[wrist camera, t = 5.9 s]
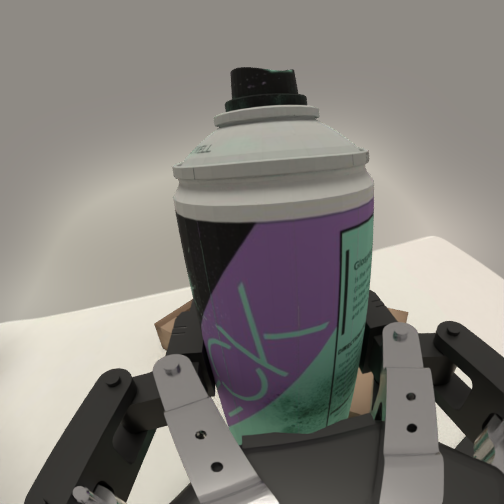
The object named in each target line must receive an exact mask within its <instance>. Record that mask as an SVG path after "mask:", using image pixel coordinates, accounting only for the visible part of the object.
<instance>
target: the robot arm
mask: <svg viewBox="0 0 504 504" xmlns="http://www.w3.org/2000/svg"><path fill="white" fill-rule="evenodd" d="M171 334H172V335H171V337H170V340H169V344H168V348H167V352H166V356H165V357H163V358H161V359H160V360H158V361H157V362H156V363H155V365H154V367H153V371H152V372H150V373H147V374H143V375H139V376H135V377H132V376H131V374H130V373H129V372H128V371H127V370H125V369H120V368H117V369H112V370H109V371H107V372H105V373H104V374H102V375H101V376H100V377H99V379H98V380H97V382H96V383H95V385H94V386H93V388H92V389H91V391H90V392H89V394H88V395H87V397H86V398H85V400H84V401H83V403H82V404H81V406H80V407H79V409H78V410H77V412H76V414H75V415H74V417H73V418H72V420H71V421H70V423H69V425H68V426H67V428H66V429H65V431H64V433H63V434H62V436H61V437H60V439H59V441H58V442H57V444H56V446H55V447H54V449H53V451H52V452H51V454H50V456H49V457H48V459H47V461H46V462H45V464H44V466H43V467H42V469H41V471H40V473H39V474H38V476H37V478H36V480H35V482H34V483H33V485H32V487H31V489H30V491H29V492H28V494H27V496H26V498H25V502H24V504H127V503H126V502H127V499H128V497H129V494H130V492H131V489H132V487H133V484H134V482H135V480H136V477H137V475H138V472H139V470H140V467H141V465H142V463H143V460H144V458H145V455H146V453H147V451H148V448H149V446H150V443H151V441H152V439H153V436H154V434H155V432H156V429H157V428H160V427H164V426H167V425H168V427H169V430H170V433H171V435H172V438H173V441H174V443H175V446H176V448H177V451H178V453H179V456H180V458H181V461H182V463H183V466H184V468H185V470H186V473H187V475H188V477H189V479H190V483H189V484H188V486H187V487H186V488H185V489H184V490H183V491H182V492H181V493H180V494H179V495H178V496H177V497H176V498H175V499H174V500H172V501H171V502H170V503H169V504H504V357H502V356H501V355H500V354H499V353H498V352H496V351H495V350H494V349H493V348H491V347H490V346H489V345H488V344H486V343H485V342H484V341H482V340H481V339H480V338H479V337H477V336H476V335H475V334H474V333H472V332H471V331H470V330H468V329H467V328H466V327H464V326H463V325H462V324H460V323H457V322H454V321H445V322H442V323H440V324H439V325H438V327H437V330H436V333H418V332H417V330H416V329H415V328H414V327H413V326H411V325H409V324H407V323H403V322H398V321H397V320H396V318H395V317H394V316H393V315H392V313H391V312H390V311H389V310H388V308H387V307H386V306H385V305H384V303H383V302H382V301H380V298H379V297H378V296H377V295H376V293H375V292H373V291H371V290H369V297H368V306H367V315H366V323H365V330H364V337H363V344H362V350H361V356H360V362H359V368H360V370H361V372H362V374H365V373H369V372H372V374H373V379H372V387H371V401H370V413H366V414H363V415H359V416H355V417H351V418H347V419H343V420H340V421H338V422H336V423H334V424H331V425H329V426H327V427H325V428H322V429H320V430H318V431H315V432H313V433H309V434H301V433H281V432H272V433H263V434H254V435H243V436H242V444H241V445H238V443H237V442H236V440H235V438H234V437H233V435H232V433H231V432H230V430H229V428H228V426H227V425H226V423H225V421H224V419H223V418H222V416H221V414H220V412H219V410H218V409H217V407H216V405H215V403H214V401H213V400H212V398H211V396H215V381H214V377H213V373H212V370H211V366H210V363H209V359H208V355H207V352H206V348H205V344H204V340H203V336H202V332H201V328H200V324H199V320H198V316H197V312H196V308H195V304H194V299H193V300H192V303H191V307H190V311H185V312H181V313H180V314H179V316H178V317H177V318H176V319H175V322H174V326H173V329H172V333H171ZM456 367H458V368H459V369H461V370H462V371H463V372H464V373H465V374H466V375H467V376H468V377H469V378H470V379H471V381H472V389H471V388H470V387H468V386H467V385H466V384H465V383H464V382H463V381H462V380H461V379H460V378H459V377H458V376H457V375H456V374H455V373H454V371H455V369H456ZM435 402H436V403H437V404H438V405H439V406H440V408H441V409H442V410H443V411H444V412H445V413H446V414H447V415H448V416H449V417H450V419H451V420H452V421H453V422H454V423H455V424H456V425H457V426H458V427H459V428H460V430H461V431H462V432H463V433H464V434H465V435H466V436H467V437H468V439H469V440H470V441H471V442H472V443H473V444H474V452H475V454H474V456H473V457H472V456H469V455H467V454H465V453H462V452H460V451H458V450H455V449H453V448H451V447H449V446H446V445H444V444H442V443H440V442H438V430H437V417H436V406H435Z"/></svg>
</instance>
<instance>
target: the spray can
mask: <svg viewBox="0 0 504 504" xmlns="http://www.w3.org/2000/svg"><path fill="white" fill-rule="evenodd" d="M231 88H232V100H230V101H228V102H226V103H225V109H226V112H225V113H222V114H219V115H217V116H216V117H214V124H215V126H217V127H219V128H218V129H217V130H216V131H214V132H213V133H212V134H210V135H209V136H208V137H207V138H206V139H204V140H203V141H202V142H201V143H200V144H199V145H198V146H197V147H196V148H195V149H194V150H193V151H192V152H191V153H190V154H189V155H188V157H187V158H186V159H185V160H184V162H181V163H178V164H176V165H174V166H173V173H174V177H175V178H176V179H178V180H179V186H178V189H177V190H176V193H175V194H174V196H173V199H174V205H175V211H176V217H177V222H178V227H179V233H180V237H181V243H182V248H183V253H184V258H185V263H186V268H187V272H188V277H189V281H190V286H191V291H192V295H193V299H194V304H195V308H196V312H197V316H198V320H199V324H200V328H201V332H202V336H203V340H204V344H205V348H206V352H207V355H208V359H209V363H210V366H211V370H212V373H213V377H214V381H215V384H216V387H217V391H218V394H219V398H220V401H221V404H222V408H223V411H224V414H225V417H226V420H227V424H228V427H229V430H230V432H231V433H232V435H233V437H234V438H235V440H236V442H237V443H238V445H241V444H242V436H243V435H254V434H263V433H272V432H281V433H301V434H309V433H313V432H315V431H318V430H320V429H322V428H325V427H327V426H329V425H331V424H334V423H336V422H338V421H340V420H343V419H347V418H348V416H349V411H350V407H351V403H352V398H353V393H354V389H355V384H356V379H357V373H358V368H359V362H360V356H361V350H362V344H363V337H364V330H365V323H366V315H367V306H368V297H369V287H370V275H371V262H372V245H373V218H374V214H373V213H374V181H373V179H372V177H371V176H370V175H369V173H368V172H367V171H366V168H365V164H366V163H368V162H369V150H367V149H364V148H359V147H356V146H355V144H353V143H352V142H351V141H350V140H348V139H347V138H345V137H344V136H343V135H341V134H340V133H339V132H337V131H336V130H334V129H332V128H331V127H329V126H328V125H325V124H324V123H322V122H320V121H318V120H315V118H319V109H318V108H316V107H313V106H307V98H306V96H304V95H301V94H298V90H297V84H296V78H295V73H294V70H286V71H276V70H268V69H260V68H251V67H241V68H236V69H234V70H232V71H231Z"/></svg>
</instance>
